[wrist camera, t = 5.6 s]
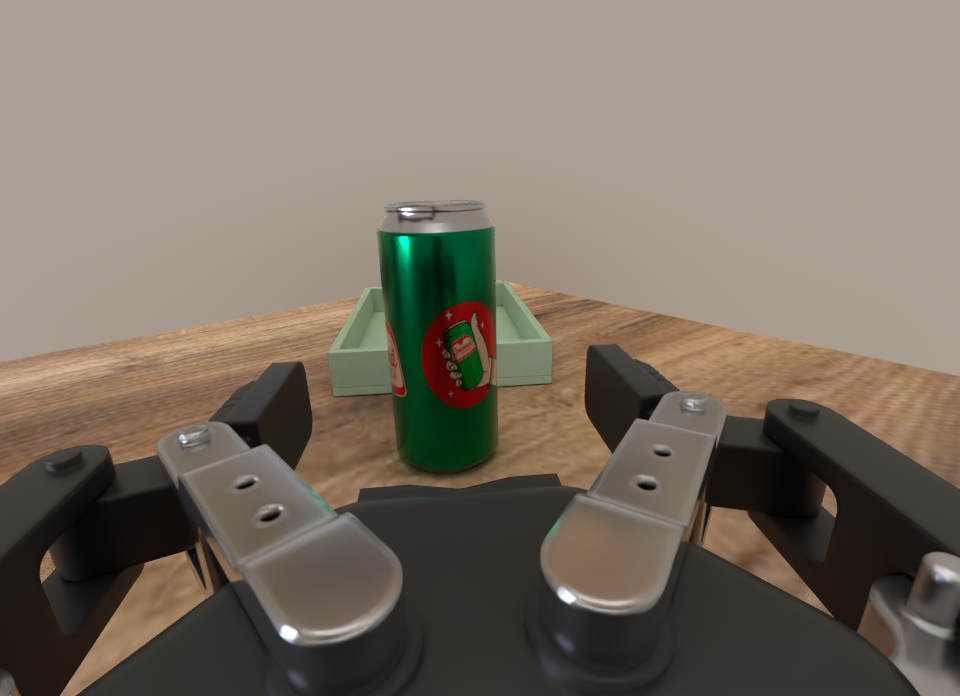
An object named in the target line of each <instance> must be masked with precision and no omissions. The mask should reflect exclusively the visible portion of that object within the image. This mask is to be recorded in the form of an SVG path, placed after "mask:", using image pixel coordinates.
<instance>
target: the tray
mask: <svg viewBox="0 0 960 696" xmlns="http://www.w3.org/2000/svg"><path fill="white" fill-rule="evenodd" d="M496 333H497V387H498V386H514V385H530V384H546V383H552V352H553V341H552V339H551V338H550V337H549V335H548V334H547V333H546V331H545V330H544V329H543V327H542V326H541V325H540V323H539V322H538V321H537V320H536V318H535V317H534V316H533V314H532V313H531V312H530V310H529V309H528V308H527V306H526V305H525V304H524V302H523V301H522V300H521V298H520V297H519V296H518V294H517V293H516V292H515V290H514V289H513V288H512V287H511V285H510V284H509V283H508V282H507V281H506V282H496ZM328 361H329V368H330V375H331V383H332V388H333V389H332V390H333V396H334V397H336V396H352V395H368V394H385V393H392V389H391V379H390V368H389V358H388V347H387V336H386V326H385V315H384V305H383V294H382V287H370V288H369V287H368V288H366V289H365V291H364V292H363V294H362V295H361V297H360V299H359V301H358V302H357V304H356V306H355V307H354V309H353V311H352V312H351V314H350V316H349V318H348V319H347V321H346V323H345V324H344V326H343V328H342V329H341V331H340V333H339V334H338V336H337V338H336V340H335V341H334V343H333V345H332V346H331V348H330V350H329V352H328Z"/></svg>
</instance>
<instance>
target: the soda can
mask: <svg viewBox="0 0 960 696" xmlns="http://www.w3.org/2000/svg"><path fill="white" fill-rule="evenodd" d="M485 207H486V203H485V202H483V201H424V202H406V203H405V202H404V203H393V204H386V205H384V211H385V212H386V214H385V217H384V219H383V221H382V223H381V225H380V227H379V229H378V231H377V241H378V250H379V262H380V273H381V283H382V294H383V305H384V315H385V326H386V336H387V347H388V358H389V368H390V379H391V389H392V400H393V411H394V421H395V432H396V443H397V449H398V451H399V453H400V454H401V455H402V456H403V457H404V458H405V459H406V460H407V461H408V462H409V463H411V464H412V465H414V466H415V467H417V468H419V469H421V470H425V471H428V472H434V473H454V472H460V471H464V470H467V469H470V468H473V467H475V466H477V465H478V464H480V463H481V462H483V461H484V460H485V459H486V458H487V457H488V456H489V455H490V454H491V453H492V452H493V450H494V449H495V447H496V446H497V443H498V401H497V333H496V272H495V271H496V266H495V227H494V226H493V224H492V223H491V221H490V220H489V218H488V216H487V214H486V213H485V211H484V208H485Z"/></svg>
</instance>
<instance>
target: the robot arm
mask: <svg viewBox="0 0 960 696" xmlns="http://www.w3.org/2000/svg"><path fill="white" fill-rule="evenodd" d="M585 408H586V412H587V415H588V418H589V419H590V421H591V422H592V424H593V425H594V427H595V428H596V430H597V431H598V433H599V434H600V436H601V438H602V439H603V441H604V442H605V444H606V445H607V447H608V448H609V450H610V451H611V453H612V456H611V457H610V459H609V460H608V462H607V463H606V465H605V466H604V468H603V470H602V471H601V473H600V474H599V476H598V477H597V479H596V480H595V482H594V483H593V485H592V486H591V488H590V489H589V491H588V490H584V489H580V488H575V487H568V486H562V485H561V483H560V481H559V478H558V476H557V474H543V475H530V476H517V477H508V478H504V479H500V480H496V481H491V482H487V483H483V484H479V485H475V486H471V487H467V488H461V489H455V488H442V487H430V486H418V485H402V486H389V487H376V488H363V489H360V493H359V497H358V502H356V503H352V504H349V505H346V506H343V507H340V508H337V509H335V510H333V509H332V508H331V507H330V506H329V505H328V504H327V503H326V502H325V501H324V500H323V499H322V498H321V497H320V496H319V495H318V494H317V493H316V492H315V491H314V490H313V489H312V488H311V487H310V486H309V485H308V484H307V483H306V482H305V481H303V480H302V479H301V478H300V477H299V476H298V475H297V474H296V473H295V472H294V470H295V468H296V466H297V464H298V462H299V460H300V458H301V455H302V453H303V451H304V449H305V447H306V445H307V443H308V441H309V438H310V436H311V432H312V412H311V405H310V399H309V392H308V386H307V380H306V373H305V369H304V366H303V364H302V362H300V361H299V362H281V363H272V364H271V365H270V366H269V367H268V368H267V370H266V371H265V372H264V373H263V374H262V375H261V376H260V378H259V379H258V380H257V381H252V382H250V383H248V384H246V385H245V386H243V387H241V388H239V389H237V390H236V391H235V393H234V394H233V395H232V396H231V397H230V398H229V400H227V401H226V402H225V403H224V404H223V406H222V408H220V409H219V410H218V411H217V412H216V413H215V414H214V415H213V416H212V417H211V419H210V420H209V421H208V422H202V423H196V424H192V425H188V426H185V427H182V428H179V429H177V430H174V431H172V432H170V433H168V434H167V435H165V436H164V437H162V438H161V439H160V440H159V441H158V442H157V444H156V447H155V448H156V451H157V455H156V456H152V457H148V458H143V459H139V460H134V461H129V462H125V463H120V464H116V465H114V464H113V461H112V458H111V455H110V452H109V449H108V448H107V447H105V446H102V445H83V446H77V447H72V448H67V449H63V450H59V451H56V452H54V453H52V454H49V455H47V456H44V457H42V458H40V459H38V460H36V461H34V462H32V463H31V464H29V465H27V466H26V467H25V468H23V469H22V470H21V471H19V472H18V473H17V474H15V475H14V476H13V477H12V478H10V479H9V480H8V481H6V482H5V483H4V484H2V485H1V486H0V696H60V695H61V693H62V692H63V690H64V688H65V687H66V685H67V684H68V682H69V681H70V679H71V678H72V676H73V675H74V673H75V672H76V670H77V669H78V667H79V666H80V664H81V663H82V661H83V660H84V658H85V657H86V655H87V654H88V652H89V651H90V649H91V648H92V646H93V645H94V643H95V641H96V640H97V638H98V637H99V635H100V634H101V632H102V631H103V629H104V628H105V626H106V625H107V623H108V622H109V620H110V619H111V617H112V616H113V614H114V613H115V611H116V610H117V608H118V607H119V605H120V604H121V602H122V601H123V599H124V598H125V596H126V594H127V593H128V591H129V590H130V588H131V587H132V585H133V584H134V582H135V581H136V579H137V578H138V576H139V575H140V573H141V572H142V570H143V568H144V563H145V562H149V561H152V560H156V559H159V558H162V557H166V556H169V555H173V554H176V553H180V552H183V551H185V554H186V558H187V561H188V563H189V565H190V567H191V569H192V571H193V573H194V575H195V577H196V579H197V582H198V584H199V586H200V588H201V590H202V592H203V594H204V596H205V598H206V599H205V600H204V601H203V602H201V603H200V604H199V605H197V606H196V607H195V608H193V609H192V610H191V611H189V612H188V613H187V614H185V615H184V616H183V617H181V618H180V619H179V620H177V621H176V622H174V623H173V624H172V625H170V626H169V627H168V628H166V629H165V630H164V631H162V632H161V633H160V634H158V635H157V636H156V637H154V638H153V639H152V640H150V641H149V642H148V643H146V644H145V645H143V646H142V647H141V648H139V649H138V650H137V651H135V652H134V653H133V654H131V655H130V656H129V657H127V658H126V659H125V660H123V661H122V662H121V663H119V664H118V665H117V666H115V667H114V668H113V669H111V670H110V671H108V672H107V673H106V674H104V675H103V676H102V677H100V678H99V679H98V680H96V681H95V682H94V683H92V684H91V685H90V686H88V687H87V688H86V689H84V690H83V691H82V692H80V693H79V694H77V695H76V696H960V489H958V488H957V487H955V486H954V485H952V484H950V483H949V482H947V481H946V480H944V479H942V478H941V477H939V476H938V475H936V474H934V473H933V472H931V471H930V470H928V469H926V468H925V467H923V466H922V465H920V464H918V463H917V462H915V461H914V460H912V459H910V458H909V457H907V456H906V455H904V454H902V453H901V452H899V451H898V450H896V449H894V448H893V447H891V446H890V445H888V444H886V443H885V442H883V441H882V440H880V439H878V438H877V437H875V436H874V435H872V434H870V433H869V432H867V431H866V430H864V429H862V428H861V427H859V426H858V425H856V424H854V423H853V422H851V421H850V420H848V419H846V418H845V417H843V416H842V415H840V414H838V413H837V412H835V411H833V410H832V409H830V408H827V407H825V406H822V405H820V404H817V403H813V402H811V401H807V400H800V399H776V400H772V401H770V402H768V404H767V406H766V412H765V417H764V419H755V418H743V417H733V416H727V411H728V407H727V405H726V404H725V403H724V402H723V401H721V400H720V399H718V398H716V397H714V396H711V395H708V394H704V393H700V392H694V391H680V390H679V389H678V388H676V387H675V386H674V385H673V384H672V383H671V382H669V381H668V380H666V378H665V377H663V376H662V375H661V374H659V372H658V371H656V370H655V369H654V368H653V367H652V366H650V365H649V364H646V363H644V362H641V361H639V360H636V359H632V358H631V357H630V356H629V355H628V354H627V353H626V352H624V351H623V350H622V349H621V348H620V347H619V346H618V345H616V344H609V345H591V346H589V348H588V351H587V360H586V379H585ZM826 485H828V486H829V487H830V489H831V490H832V492H833V493H834V495H835V498H836V501H837V515H836V518H835V517H834V516H832V515H831V514H830V513H829V512H828V511H827V510H826V509H825V508H824V507H823V506H821V505H822V501H823V497H824V493H825V489H826ZM712 506H715V507H723V508H731V509H738V510H746V511H747V513H748V515H749V517H750V518H751V520H752V521H753V522H754V523H755V524H756V526H757V527H758V528H759V529H760V530H761V531H762V533H763V534H764V535H765V536H766V537H767V539H768V540H769V541H770V542H771V543H772V544H773V546H774V547H775V548H776V549H777V550H778V552H779V553H780V554H781V555H782V556H783V557H784V559H785V560H786V561H787V562H788V563H789V564H790V566H791V567H792V568H793V569H794V570H795V572H796V573H797V574H798V575H799V576H800V577H801V579H802V580H803V581H804V582H805V583H806V585H807V586H808V587H809V588H810V589H811V590H812V592H813V593H814V594H815V595H816V596H817V598H818V599H819V600H820V601H821V602H822V603H823V605H824V606H825V607H826V608H827V609H828V610H829V612H830V613H831V614H832V615H833V616H834V618H833V617H832V616H830V615H828V614H826V613H825V612H823V611H821V610H819V609H817V608H815V607H813V606H811V605H809V604H808V603H806V602H804V601H802V600H800V599H798V598H796V597H794V596H793V595H791V594H789V593H787V592H785V591H783V590H781V589H779V588H778V587H776V586H774V585H772V584H770V583H768V582H766V581H764V580H762V579H761V578H759V577H757V576H755V575H753V574H751V573H749V572H747V571H746V570H744V569H742V568H740V567H738V566H736V565H734V564H732V563H730V562H729V561H727V560H725V559H723V558H721V557H719V556H717V555H715V554H714V553H712V552H710V551H708V550H706V549H704V548H703V544H704V540H705V536H706V532H707V528H708V524H709V520H710V517H711V512H712ZM47 550H49V552H50V555H51V557H52V560H53V562H54V565H55V567H56V569H55V570H54V571H53V572H52V573H51V574H50V575H49V576H48V578H47V579H46V580H45V581H44V582H43V583H42V584H41V581H40V565H41V562H42V559H43V557H44V555H45V553H46V552H47Z"/></svg>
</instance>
